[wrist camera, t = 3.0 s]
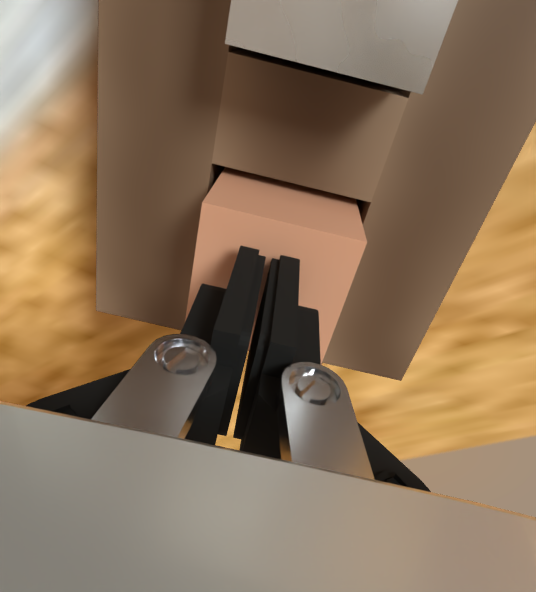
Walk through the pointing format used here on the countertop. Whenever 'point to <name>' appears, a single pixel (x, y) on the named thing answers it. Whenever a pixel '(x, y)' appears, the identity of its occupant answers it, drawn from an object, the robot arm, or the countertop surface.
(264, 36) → the grey cube
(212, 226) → the salmon pink cube
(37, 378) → the countertop surface
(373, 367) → the key panel
